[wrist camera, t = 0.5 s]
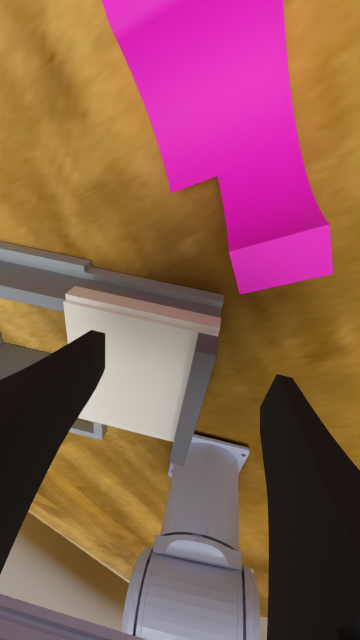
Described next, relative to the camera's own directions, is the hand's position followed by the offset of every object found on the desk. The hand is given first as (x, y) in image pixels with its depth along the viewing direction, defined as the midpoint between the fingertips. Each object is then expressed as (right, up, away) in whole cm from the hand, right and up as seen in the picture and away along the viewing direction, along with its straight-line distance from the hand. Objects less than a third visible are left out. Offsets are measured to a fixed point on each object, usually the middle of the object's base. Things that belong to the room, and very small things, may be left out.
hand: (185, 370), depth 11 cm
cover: (-3, -2, +10) cm, 10 cm away
